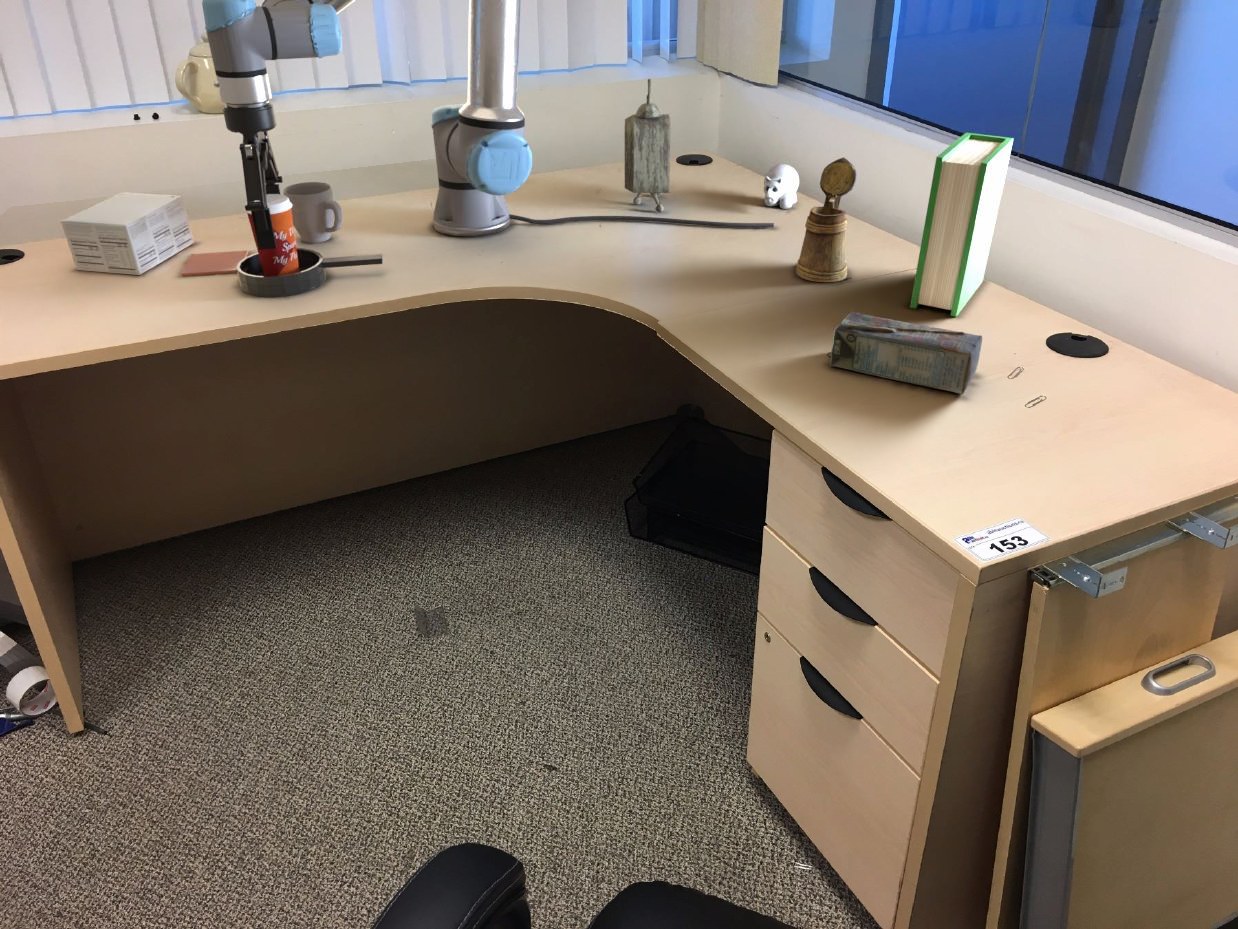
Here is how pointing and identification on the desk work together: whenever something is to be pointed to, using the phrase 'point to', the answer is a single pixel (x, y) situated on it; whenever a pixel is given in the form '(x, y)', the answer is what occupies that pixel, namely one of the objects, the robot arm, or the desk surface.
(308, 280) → the pan
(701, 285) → the desk surface
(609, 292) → the desk surface
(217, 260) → the coaster
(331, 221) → the mug
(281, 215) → the paper cup
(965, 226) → the hardback book
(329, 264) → the pan handle
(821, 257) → the wooden mug
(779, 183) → the chubby cartoon animal
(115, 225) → the supplement box
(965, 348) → the beverage carton
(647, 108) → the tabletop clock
